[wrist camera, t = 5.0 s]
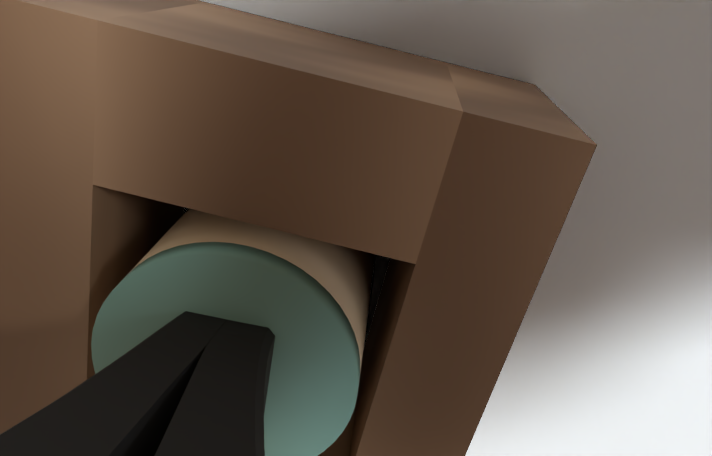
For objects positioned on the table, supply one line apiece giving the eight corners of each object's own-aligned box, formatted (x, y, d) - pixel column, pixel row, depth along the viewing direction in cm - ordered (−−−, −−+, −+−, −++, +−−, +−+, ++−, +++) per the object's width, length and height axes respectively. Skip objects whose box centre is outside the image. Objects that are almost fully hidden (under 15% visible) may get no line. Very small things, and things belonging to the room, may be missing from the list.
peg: (396, 189, 11) (388, 295, 8) (351, 349, 13) (327, 498, 9) (198, 140, 11) (95, 223, 8) (179, 308, 13) (88, 441, 9)
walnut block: (534, 84, 11) (596, 145, 7) (408, 435, 14) (407, 591, 11) (-311, -127, 10) (-693, -178, 7) (-213, 284, 14) (-426, 391, 11)
